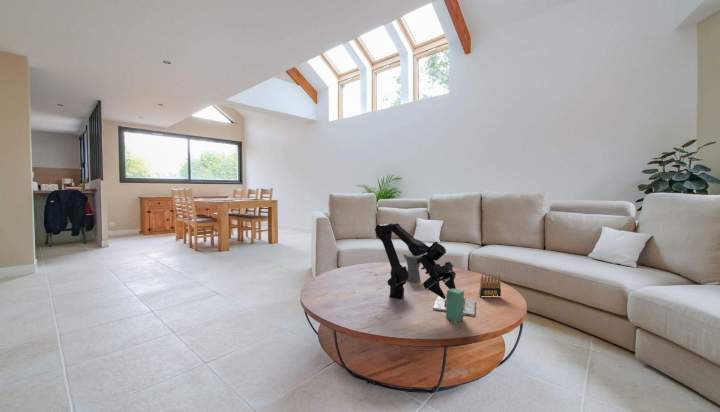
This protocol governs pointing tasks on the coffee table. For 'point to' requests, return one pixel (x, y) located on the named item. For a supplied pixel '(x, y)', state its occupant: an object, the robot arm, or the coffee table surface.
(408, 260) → the coffeepot
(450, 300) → the green block
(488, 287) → the ammunition clip
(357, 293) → the coffee table surface
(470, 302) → the chassis
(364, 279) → the coffee table surface
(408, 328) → the coffee table surface
